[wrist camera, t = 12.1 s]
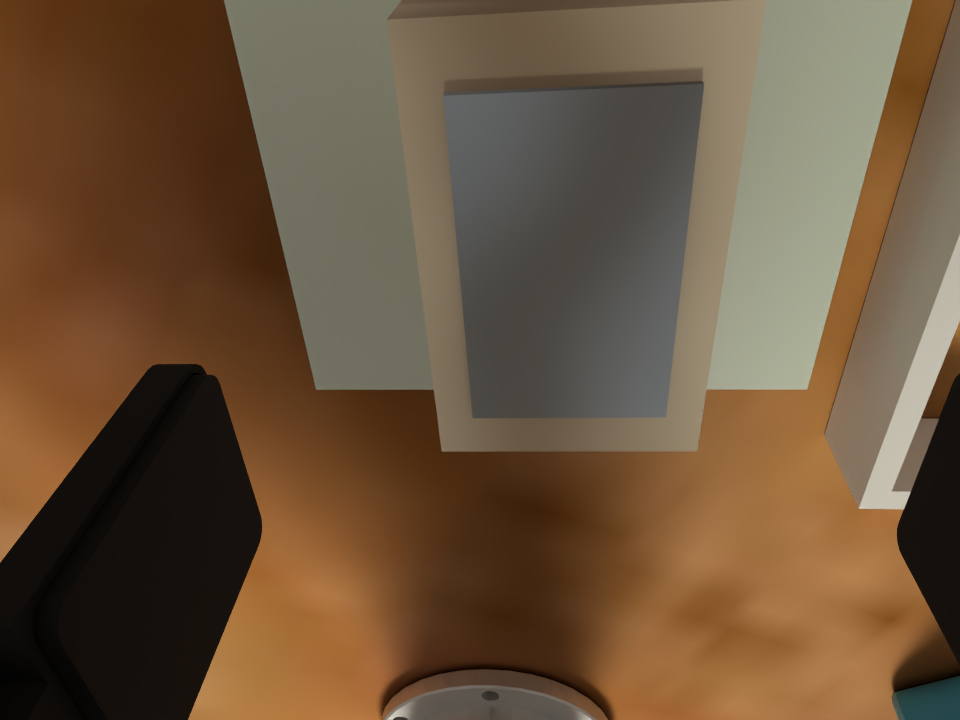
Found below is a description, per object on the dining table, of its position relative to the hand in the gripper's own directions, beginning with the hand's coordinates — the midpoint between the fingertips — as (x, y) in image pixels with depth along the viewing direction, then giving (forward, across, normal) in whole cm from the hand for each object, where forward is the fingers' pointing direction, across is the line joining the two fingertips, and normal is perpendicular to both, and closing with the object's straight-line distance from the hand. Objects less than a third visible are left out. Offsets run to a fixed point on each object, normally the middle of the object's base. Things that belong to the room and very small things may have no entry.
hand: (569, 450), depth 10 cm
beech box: (+11, 0, -1) cm, 11 cm away
